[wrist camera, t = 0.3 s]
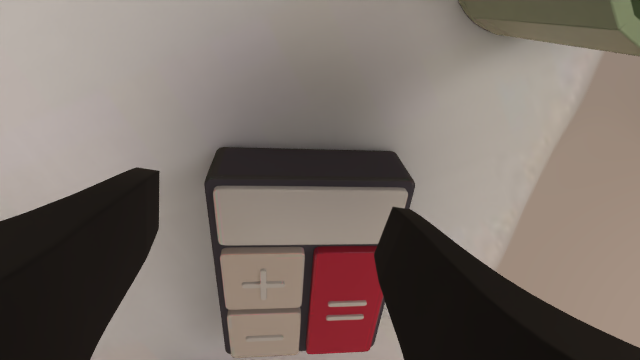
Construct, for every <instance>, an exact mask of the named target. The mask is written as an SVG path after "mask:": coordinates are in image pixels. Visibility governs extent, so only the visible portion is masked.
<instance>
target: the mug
mask: <svg viewBox="0 0 640 360" xmlns="http://www.w3.org/2000/svg"><path fill="white" fill-rule="evenodd" d="M458 1H459V3H460V5H461V7H462V8H463V10H464V12H465V13H466V14H467V15H468V17H469V18H470V19H471V20H472V21H473V22H474V23H476V24H477V25H478V26H480V27H481V28H483V29H485V30H487V31H489V32H492V33H494V34H496V35H503V36H510V37H516V38H523V39H529V40H536V41H542V42H549V43H555V44H562V45H569V46H575V47H582V48H588V49H595V50H601V51H609V52H615V53H621V54H628V55H634V56H640V0H458Z"/></svg>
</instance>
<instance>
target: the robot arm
mask: <svg viewBox="0 0 640 360" xmlns="http://www.w3.org/2000/svg"><path fill="white" fill-rule="evenodd" d="M158 229H159V171H156V170H150V169H143V168H134V169H131V170H128V171H126V172H123V173H121V174H119V175H116V176H114V177H112V178H110V179H107V180H105V181H103V182H101V183H98V184H96V185H94V186H91V187H89V188H87V189H84V190H82V191H80V192H78V193H75V194H73V195H70V196H68V197H65V198H63V199H60V200H58V201H55V202H52V203H50V204H47V205H45V206H42V207H40V208H37V209H34V210H32V211H29V212H26V213H23V214H21V215H18V216H15V217H12V218H9V219H6V220H3V221H0V360H90V359H91V357H92V354H93V352H94V350H95V348H96V346H97V344H98V342H99V340H100V338H101V336H102V334H103V332H104V331H105V329H106V327H107V325H108V323H109V322H110V320H111V318H112V317H113V315H114V313H115V311H116V310H117V308H118V306H119V305H120V303H121V301H122V300H123V298H124V296H125V294H126V293H127V291H128V289H129V288H130V286H131V284H132V283H133V281H134V279H135V277H136V276H137V274H138V272H139V270H140V269H141V267H142V265H143V263H144V262H145V260H146V258H147V256H148V254H149V251H150V249H151V246H152V244H153V242H154V239H155V236H156V234H157V231H158ZM374 259H375V265H376V271H377V276H378V281H379V284H380V288H381V291H382V294H383V297H384V300H385V303H386V306H387V309H388V312H389V314H390V317H391V320H392V323H393V326H394V329H395V332H396V335H397V338H398V341H399V344H400V347H401V350H402V353H403V357H404V360H640V348H639V347H636V346H633V345H631V344H629V343H627V342H624V341H623V340H620V339H618V338H616V337H614V336H612V335H609V334H607V333H605V332H603V331H601V330H599V329H597V328H594V327H592V326H590V325H588V324H586V323H584V322H582V321H580V320H578V319H576V318H574V317H572V316H570V315H568V314H567V313H565V312H563V311H561V310H559V309H557V308H555V307H554V306H552V305H550V304H548V303H546V302H544V301H542V300H541V299H539V298H537V297H535V296H534V295H532V294H530V293H529V292H527V291H525V290H524V289H522V288H520V287H519V286H517V285H516V284H514V283H512V282H511V281H509V280H507V279H506V278H504V277H503V276H501V275H500V274H498V273H497V272H495V271H494V270H492V269H491V268H489V267H488V266H487V265H485V264H484V263H482V262H481V261H479V260H478V259H477V258H475V257H474V256H472V255H471V254H470V253H468V252H467V251H466V250H464V249H463V248H462V247H460V246H459V245H458V244H456V243H455V242H454V241H453V240H451V239H450V238H449V237H447V236H446V235H445V234H444V233H442V232H441V231H440V230H438V229H437V228H436V227H435V226H433V225H432V224H431V223H429V222H428V221H427V220H425V219H424V218H423V217H421V216H420V215H418V214H417V213H415V212H414V211H412V210H410V209H405V208H399V207H392V209H391V212H390V215H389V217H388V220H387V222H386V225H385V227H384V230H383V232H382V235H381V238H380V240H379V243H378V245H377V248H376V250H375V253H374Z"/></svg>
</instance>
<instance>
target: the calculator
mask: <svg viewBox="0 0 640 360" xmlns="http://www.w3.org/2000/svg"><path fill="white" fill-rule="evenodd" d="M204 184H205V194H206V202H207V209H208V217H209V225H210V233H211V240H212V248H213V256H214V264H215V272H216V279H217V287H218V295H219V303H220V310H221V318H222V326H223V334H224V342H225V349H226V352H227V353H229V354H231V356H232V357H233V358H244V357H265V356H285V355H296V354H298V352H299V351H306V352H307V354H326V353H346V352H365V351H369V350H370V347H371V346H373V344H374V342H375V338H376V334H377V330H378V327H379V323H380V319H381V315H382V311H383V307H384V303H385V300H384V297H383V294H382V291H381V288H380V284H379V281H378V276H377V271H376V265H375V259H374V253H375V250H376V248H377V245H378V243H379V240H380V238H381V235H382V232H383V230H384V227H385V225H386V222H387V220H388V217H389V215H390V212H391V209H392V207H399V208H405V209H409V208H410V204H411V200H412V196H413V192H414V188H415V183H414V181H413V179H412V178H411V176H410V174H409V173H408V171H407V170H406V168H405V167H404V165H403V164H402V162H401V160H400V159H399V157H398V156H397V154H396V153H395V152H392V151H358V150H316V149H274V148H233V147H223V148H219V149H218V150H217V151H216V154H215V156H214V159H213V161H212V164H211V166H210V169H209V171H208V174H207V176H206V179H205V183H204Z"/></svg>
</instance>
